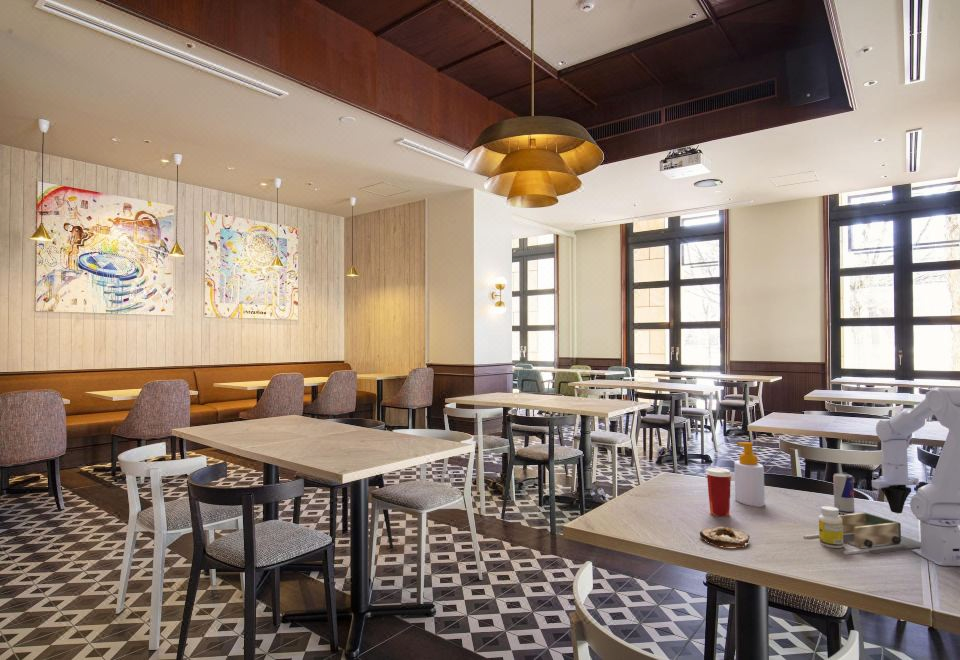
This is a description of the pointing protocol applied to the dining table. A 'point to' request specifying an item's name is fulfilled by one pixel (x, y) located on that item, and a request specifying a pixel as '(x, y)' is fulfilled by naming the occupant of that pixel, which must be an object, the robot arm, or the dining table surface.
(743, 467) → the soap bottle
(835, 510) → the supplement bottle
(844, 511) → the energy drink
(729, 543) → the ring pastry
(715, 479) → the paper cup
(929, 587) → the dining table surface
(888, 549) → the track
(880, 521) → the cart
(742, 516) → the dining table surface
